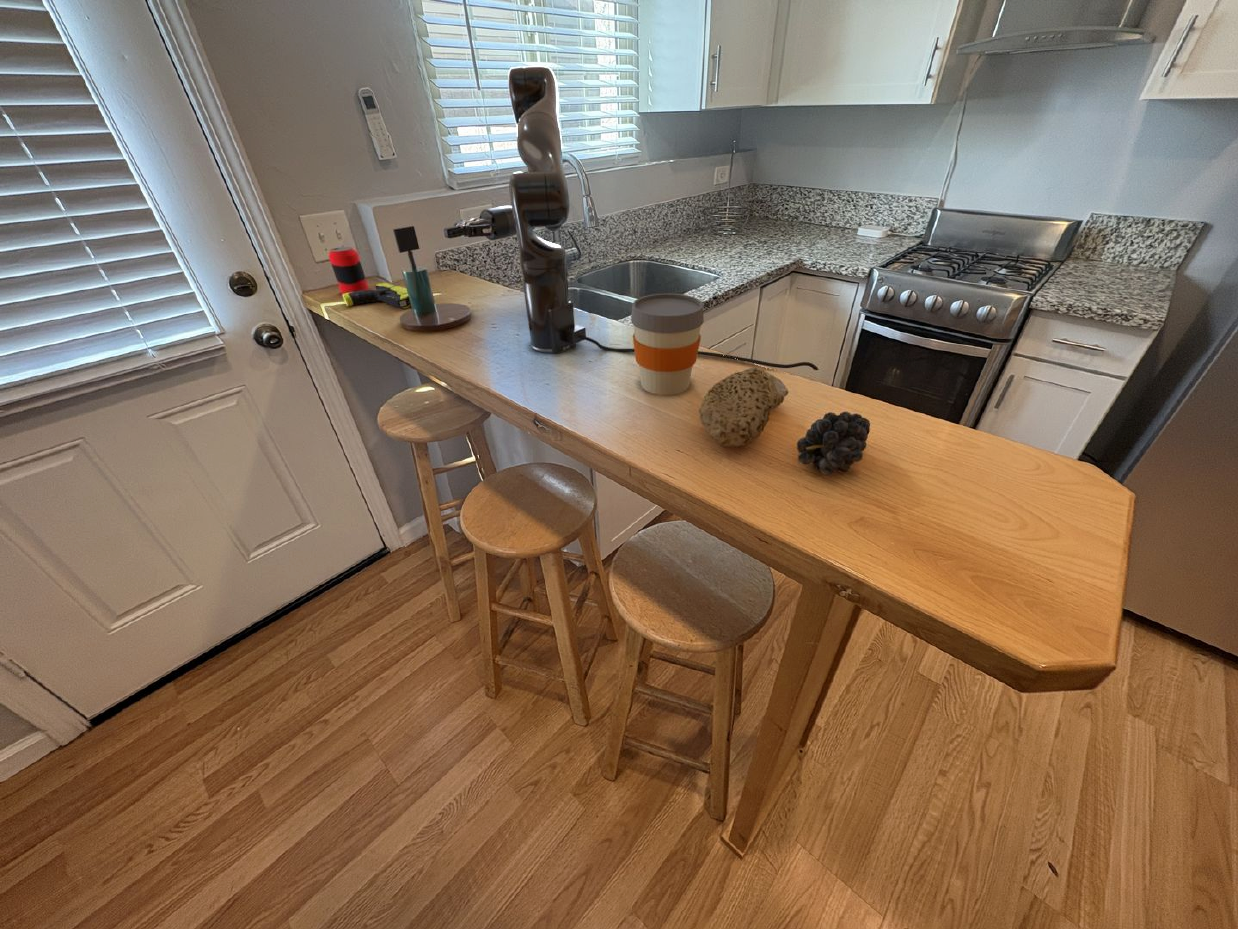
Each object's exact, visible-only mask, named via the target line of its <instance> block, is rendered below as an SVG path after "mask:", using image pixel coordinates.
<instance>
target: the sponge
mask: <svg viewBox="0 0 1238 929" xmlns="http://www.w3.org/2000/svg"><path fill="white" fill-rule="evenodd" d="M788 394H789V389H788V388H787V387H786V385H785V384H784V382H783V381H782V380H781V379H780V378H778V377H776V376H775V375H773V374H772V373H769V372H767V371H766V370H765V369H763V368H757V367H750V368H747V369H744V370H742V371H737V372H733V373H732V374H731V375H728V376H726V377H725V378H724V379H723V378H722V380H719V381H718V382H717V383H715V384H713V385H712V387H711V388H709V389H708V390H707V393H706V394H705V395H704V397H703V398H702V402H701V404H700V407H699V410H698V412H699V418H700V421H701V422H702V425H703V426H704V427H705V428H706V430H707V432H709V435H710V437H711V438H712V439H713V440H714V441H715V442H717V443H718V444H720V445H721V446H724V447H728V448H740V447H747V446H749V445H751V444H752V443H754V441H757V439H759V437H760V436H761V434H762V432H763V431H764V430H765V427H766V426H767V424H768V422H769V419H770V415H771V413H772V411H773V410H775V409H776V408H777V407H779V406H781V404H783V402H784V401H785V397H787V396H788Z"/></svg>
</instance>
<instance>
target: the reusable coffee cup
mask: <svg viewBox="0 0 1238 929" xmlns="http://www.w3.org/2000/svg"><path fill="white" fill-rule="evenodd" d="M630 322H631V324H632V326H633V334H632V342H633V349H634V350H635V352H634V357H635V363H637V365H638V369H639V370H638V372H639V377H640V385H641V387H642V389H644V391H646V392H648V393H650V394H653V395H657V396H671V395H673V396H674V395H677V394H681V393H683V392H685V391H687V389H688V388H689V386H690V381H691V380H690V379H691V377H692V371H693V367H694V365H695V364H696V362H697V359H698V351H699V348H700V345H701V339H702V336H701V334H700V333H701V328H702V326H703V324H704V302H703V301H702V300H700V299H699V298H697V297H695V296H691V295H687V294H682V293H653V294H648V295H644V296H641V297H639V298H637V299H635V300H634V301H633V302H632V306H631V317H630Z"/></svg>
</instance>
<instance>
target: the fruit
mask: <svg viewBox="0 0 1238 929" xmlns="http://www.w3.org/2000/svg"><path fill="white" fill-rule="evenodd" d="M870 427H871V422H870V420H869V419H868V418H866V417H863V416H862V414H860V413H850V412H849V411H843V412H840V413H839V414H836V413H835V412H831V411H830V412H827V413H825V414H824V415H823V416H822V418H819V419H818V418H817V419H816V420H815V421H814V422H812V424H811V425H810V428H809V429H807V431H806V433H805V436H804V437H800V438H799V439H798V441H797V443H796V447H797V448H796V449H797V451H798V453H799V454H798V458H797V459H798V462H799V463H800V464H802V465H810V464H812V465H813V467H814V468H815V469H816V470H817V471H821V473H822V474H823V475H826V476H831V475H833V474H834V473H835V472H836V471H837V472H839V473H841V474H845V473H848V472H849V470H850V469H851V466H853V465H854V464H855V463H859V462H860V461H862V460H863V458H864V454H863V451H865V450H866V448H867V440H868V438H869V437H868V436H869V433H870V432H871V428H870Z"/></svg>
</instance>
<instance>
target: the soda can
mask: <svg viewBox="0 0 1238 929" xmlns="http://www.w3.org/2000/svg"><path fill="white" fill-rule="evenodd" d="M328 258H329V262H330V265H331V268H332V270H333V273H334V276H335V279H336V282H337V285H338V287H339V290H340V293H341V295H342V294H345V293H350V292H355V291H359V290H370V288H369V284H368V281H367V279H366V276H365V275H366V274H365V272H364V268H363V266H362V263H361V260H360V256H359V253H358V252H357V251H356V250H355V249H354V248H353V247H351V246H341V247H335V248H331V249H330V251H329V253H328Z"/></svg>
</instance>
